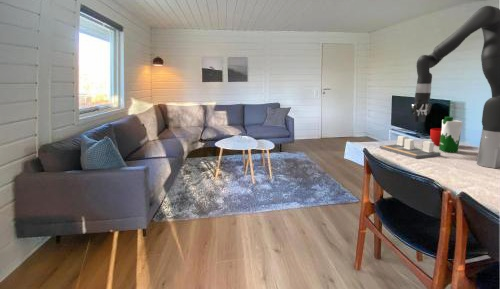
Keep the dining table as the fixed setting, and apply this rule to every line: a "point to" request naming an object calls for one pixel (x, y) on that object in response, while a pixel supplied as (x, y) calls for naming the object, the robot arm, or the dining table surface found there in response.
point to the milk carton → (450, 135)
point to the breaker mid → (409, 144)
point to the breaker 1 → (401, 140)
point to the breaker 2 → (428, 146)
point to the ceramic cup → (435, 135)
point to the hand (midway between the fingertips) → (419, 121)
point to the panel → (409, 151)
